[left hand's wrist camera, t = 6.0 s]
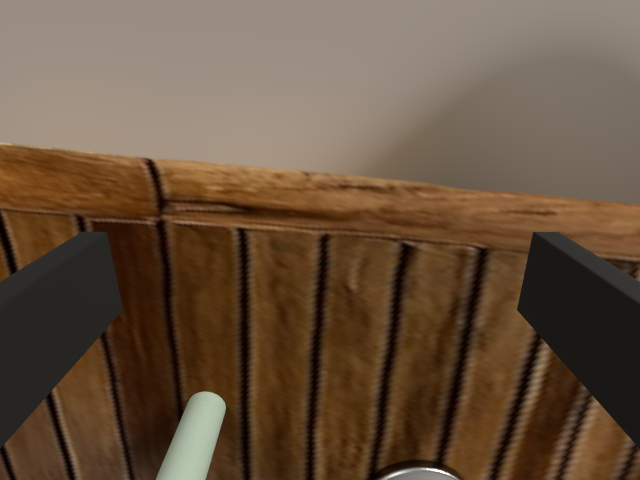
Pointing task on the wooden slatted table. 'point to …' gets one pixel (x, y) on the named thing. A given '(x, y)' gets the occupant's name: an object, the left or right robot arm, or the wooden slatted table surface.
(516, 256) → the wooden slatted table surface
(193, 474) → the bottle
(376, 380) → the wooden slatted table surface
